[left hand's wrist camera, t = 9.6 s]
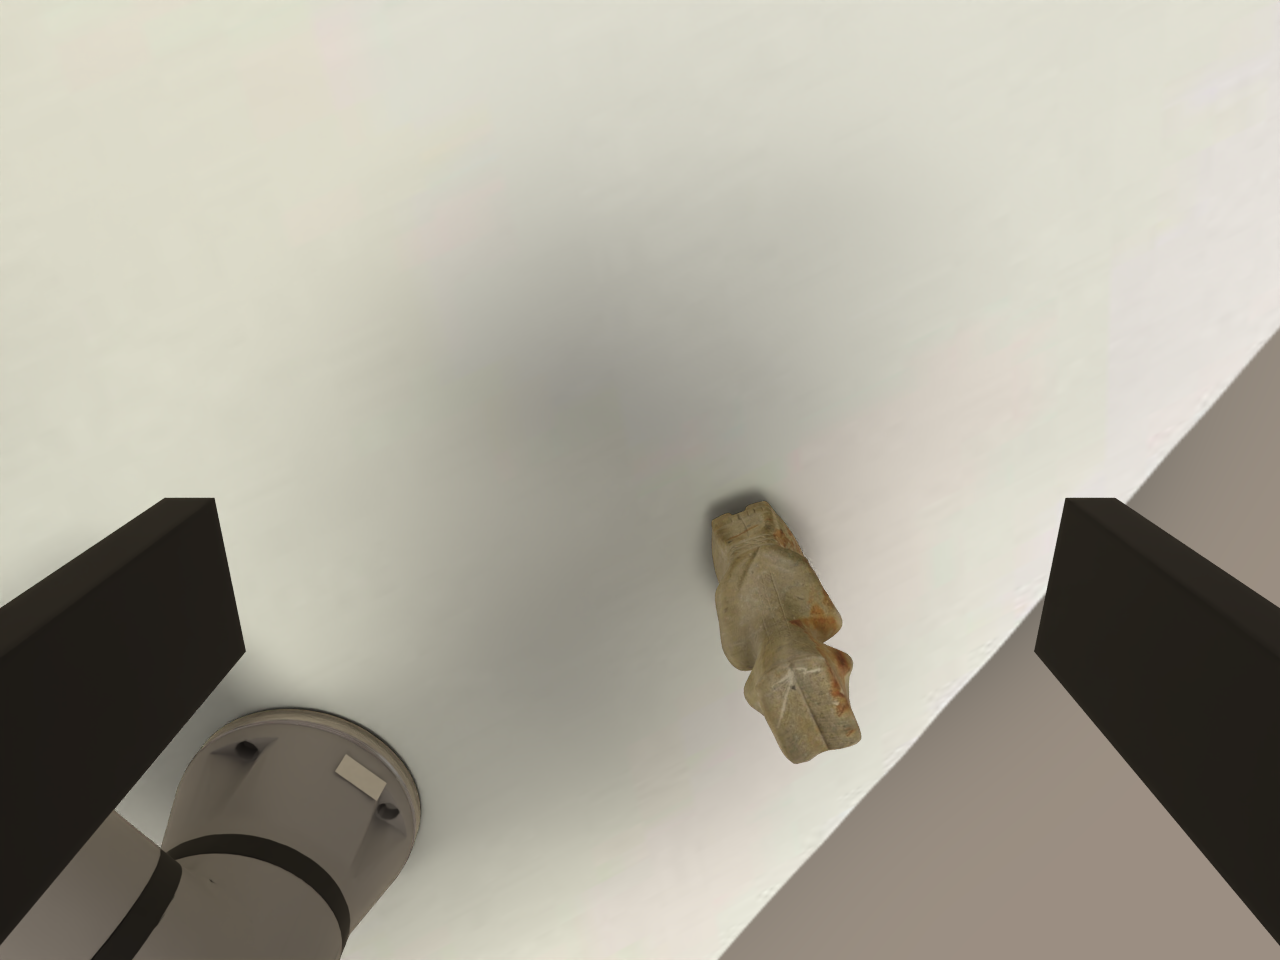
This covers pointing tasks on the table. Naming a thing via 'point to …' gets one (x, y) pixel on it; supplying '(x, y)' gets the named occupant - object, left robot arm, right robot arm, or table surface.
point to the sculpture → (782, 633)
